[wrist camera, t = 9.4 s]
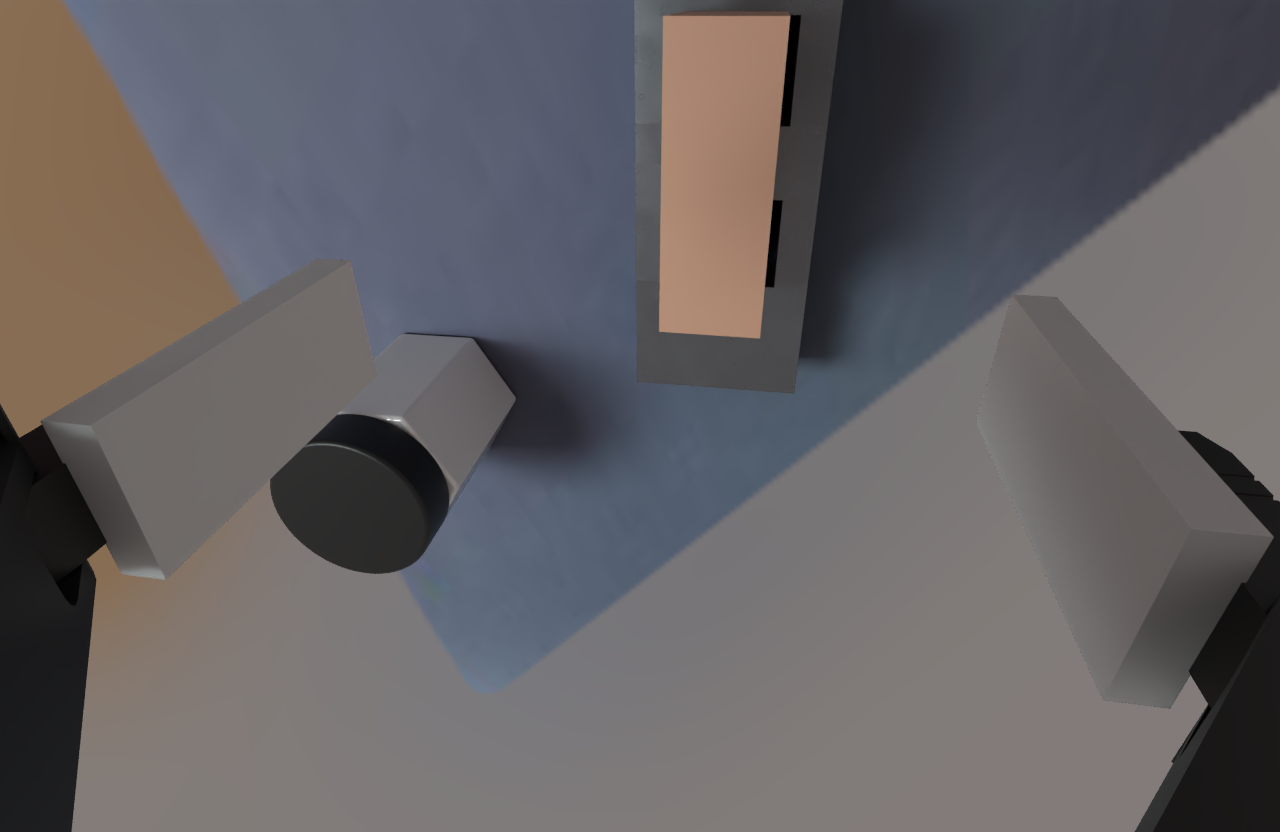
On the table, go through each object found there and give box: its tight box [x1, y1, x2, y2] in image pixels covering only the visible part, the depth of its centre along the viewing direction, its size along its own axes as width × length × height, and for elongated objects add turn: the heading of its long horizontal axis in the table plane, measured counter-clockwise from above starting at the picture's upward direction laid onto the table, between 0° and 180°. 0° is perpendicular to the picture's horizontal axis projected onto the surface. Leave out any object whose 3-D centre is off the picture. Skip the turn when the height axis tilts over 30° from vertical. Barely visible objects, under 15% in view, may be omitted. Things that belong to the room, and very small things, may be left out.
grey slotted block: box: [634, 0, 843, 393], centre depth 32 cm, size 22×8×4 cm, turn 0°
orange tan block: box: [659, 11, 790, 339], centre depth 29 cm, size 11×4×10 cm, turn 0°
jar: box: [270, 334, 516, 574], centre depth 39 cm, size 9×8×12 cm
